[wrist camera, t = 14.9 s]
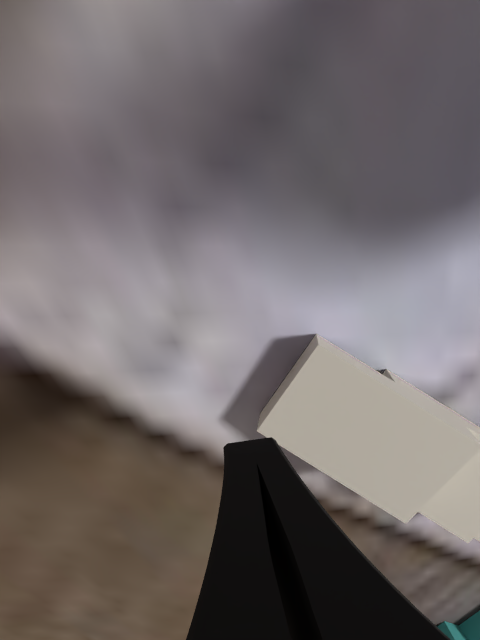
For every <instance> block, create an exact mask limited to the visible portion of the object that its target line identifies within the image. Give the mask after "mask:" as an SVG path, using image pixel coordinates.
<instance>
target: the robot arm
mask: <svg viewBox="0 0 480 640" xmlns="http://www.w3.org/2000/svg"><path fill="white" fill-rule="evenodd" d="M186 640H451V639H450V638H449V637H448V636H447V635H445V634H444V633H443V632H442V631H441V630H440V629H439V628H438V627H437V626H435V625H434V624H433V623H432V622H431V621H430V620H429V619H428V618H427V617H425V616H424V615H423V614H422V613H421V612H420V611H419V610H418V609H417V608H416V607H415V606H414V605H413V604H412V603H411V602H410V601H409V600H408V599H407V598H406V597H405V596H404V595H403V594H402V593H401V592H400V591H399V590H397V589H396V588H395V587H394V586H393V585H392V584H391V583H390V582H389V581H388V580H387V578H386V577H385V576H384V575H383V574H382V573H381V572H380V571H379V570H378V569H377V568H376V567H375V566H374V565H373V564H372V563H371V562H370V561H369V560H368V559H367V558H366V557H365V555H364V554H363V553H362V552H361V551H360V550H359V549H358V548H357V547H356V546H355V545H354V543H353V542H352V541H351V540H350V539H349V538H348V537H347V535H346V534H345V533H344V532H343V531H342V530H341V528H340V527H339V526H338V525H337V524H336V523H335V521H334V520H333V519H332V518H331V517H330V515H329V514H328V513H327V512H326V511H325V509H324V508H323V507H322V505H321V504H320V503H319V502H318V500H317V499H316V498H315V497H314V495H313V494H312V493H311V491H310V490H309V489H308V488H307V486H306V485H305V484H304V482H303V481H302V479H301V478H300V477H299V475H298V474H297V472H296V471H295V470H294V468H293V467H292V465H291V464H290V462H289V461H288V459H287V458H286V456H285V455H284V453H283V452H282V450H281V448H280V447H279V445H278V443H277V442H276V440H275V439H273V438H272V437H270V438H263V439H256V440H249V441H242V442H235V443H228V444H227V445H226V446H224V478H223V487H222V495H221V501H220V507H219V513H218V519H217V524H216V529H215V534H214V538H213V543H212V547H211V552H210V556H209V560H208V565H207V569H206V573H205V576H204V580H203V584H202V588H201V591H200V595H199V598H198V602H197V605H196V609H195V612H194V616H193V619H192V622H191V626H190V629H189V632H188V635H187V638H186Z"/></svg>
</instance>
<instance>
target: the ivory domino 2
mask: <svg viewBox="0 0 480 640" xmlns="http://www.w3.org/2000/svg"><path fill="white" fill-rule="evenodd" d="M382 375H384V376H386V377H387V378H389V379H391V380H392V381H394V382H395V383H397V384H399V385H400V386H402V387H403V388H405V389H407V390H408V391H410V392H412V393H413V394H415V395H416V396H418V397H420V398H421V399H423V400H425V401H426V402H428V403H429V404H431V405H433V406H434V407H436V408H438V409H439V410H441V411H442V412H444V413H446V414H447V415H449V416H450V417H452V418H454V419H455V420H457V421H459V422H460V423H462V424H463V425H465V426H466V427H467V428H468V429H469V430H470V432H471V433H472V434H473V435H474V436H475V437H476V438H477V439H478V441H479V442H480V427H478V426H477V425H475V424H474V423H472V422H470V421H469V420H467V419H466V418H464V417H462V416H461V415H459V414H458V413H456V412H454V411H453V410H451V409H450V408H448V407H446V406H445V405H443V404H441V403H440V402H438V401H437V400H435V399H433V398H432V397H430V396H429V395H427V394H425V393H424V392H422V391H421V390H419V389H417V388H416V387H414V386H413V385H411V384H409V383H408V382H406V381H405V380H403V379H401V378H400V377H398V376H397V375H395V374H393V373H392V372H390V371H389V370H387V369H386V370H385V371H384V373H383V374H382ZM418 512H419V513H420V514H422V515H424V516H425V517H427V518H428V519H430V520H432V521H433V522H435V523H436V524H438V525H439V526H441V527H443V528H444V529H446V530H447V531H449V532H451V533H452V534H454V535H455V536H457V537H459V538H460V539H462V540H463V541H465V542H467V543H469V542H470V541H471V540H472V539H474V538H475V537H476V536H477V535H478V534H479V533H480V450H479V451H478V452H477V453H476V454H475V455H474V456H473V457H472V458H471V459H470V460H469V461H468V462H467V463H466V464H465V465H464V466H463V467H462V468H461V469H460V470H459V471H458V472H457V473H456V474H455V475H454V476H453V477H452V478H451V479H450V480H449V481H448V482H447V483H446V484H445V485H444V486H443V487H442V488H441V489H440V490H439V491H438V492H437V493H436V494H435V495H434V496H433V497H432V498H431V499H430V500H429V501H428V502H427V503H426V504H425V505H424V506H423V507H422V508H421V509H420V510H419V511H418Z"/></svg>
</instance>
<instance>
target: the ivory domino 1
mask: <svg viewBox="0 0 480 640" xmlns="http://www.w3.org/2000/svg"><path fill="white" fill-rule="evenodd" d="M257 432H259V433H261V434H262V435H264V436H265V437H267V438H270V437H272V438H273V439H275V440H276V442H277V443H278V445H280V446H281V447H283V448H285V449H286V450H288V451H289V452H291V453H293V454H294V455H296V456H297V457H299V458H301V459H302V460H304V461H305V462H307V463H309V464H310V465H312V466H314V467H315V468H317V469H318V470H320V471H322V472H323V473H325V474H326V475H328V476H330V477H331V478H333V479H334V480H336V481H338V482H339V483H341V484H342V485H344V486H346V487H347V488H349V489H350V490H352V491H354V492H355V493H357V494H359V495H360V496H362V497H363V498H365V499H367V500H368V501H370V502H371V503H373V504H375V505H376V506H378V507H379V508H381V509H383V510H384V511H386V512H387V513H389V514H391V515H392V516H394V517H395V518H397V519H399V520H400V521H402V522H404V523H405V524H406V523H407V522H408V521H409V520H410V519H411V518H412V517H413V516H414V515H415V514H416V513H417V512H418V511H419V510H420V509H421V508H422V507H423V506H424V505H425V504H426V503H427V502H428V501H429V500H430V499H431V498H432V497H433V496H434V495H435V494H436V493H437V492H438V491H439V490H440V489H441V488H442V487H443V486H444V485H445V484H446V483H447V482H448V481H449V480H450V479H451V478H452V477H453V476H454V475H455V474H456V473H457V472H458V471H459V470H460V469H461V468H462V467H463V466H464V465H465V464H466V463H467V462H468V461H469V460H470V459H471V458H472V457H473V456H474V455H475V454H476V453H477V452H478V451H479V450H480V442H479V441H478V439H477V438H476V437H475V436H474V435H473V434H472V433H471V432H470V430H469V429H468V428H467V427H466V426H465V425H463V424H462V423H460V422H459V421H457V420H455V419H454V418H452V417H450V416H449V415H447V414H446V413H444V412H442V411H441V410H439V409H438V408H436V407H434V406H433V405H431V404H429V403H428V402H426V401H425V400H423V399H421V398H420V397H418V396H416V395H415V394H413V393H412V392H410V391H408V390H407V389H405V388H403V387H402V386H400V385H399V384H397V383H395V382H394V381H392V380H391V379H389V378H387V377H386V376H384V375H382V374H381V373H379V372H378V371H376V370H374V369H373V368H371V367H369V366H368V365H366V364H365V363H363V362H361V361H360V360H358V359H356V358H355V357H353V356H352V355H350V354H348V353H347V352H345V351H343V350H342V349H340V348H339V347H337V346H335V345H334V344H332V343H331V342H329V341H327V340H326V339H324V338H322V337H321V336H319V335H318V334H316V335H315V336H314V338H313V339H312V341H311V342H310V344H309V345H308V346H307V348H306V349H305V351H304V352H303V354H302V355H301V356H300V358H299V359H298V361H297V362H296V363H295V365H294V366H293V368H292V369H291V371H290V372H289V373H288V375H287V376H286V378H285V379H284V381H283V382H282V383H281V385H280V386H279V388H278V389H277V391H276V392H275V393H274V395H273V396H272V398H271V399H270V400H269V402H268V403H267V405H266V406H265V408H264V409H263V410H262V412H261V413H260V417H259V422H258V427H257Z"/></svg>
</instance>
